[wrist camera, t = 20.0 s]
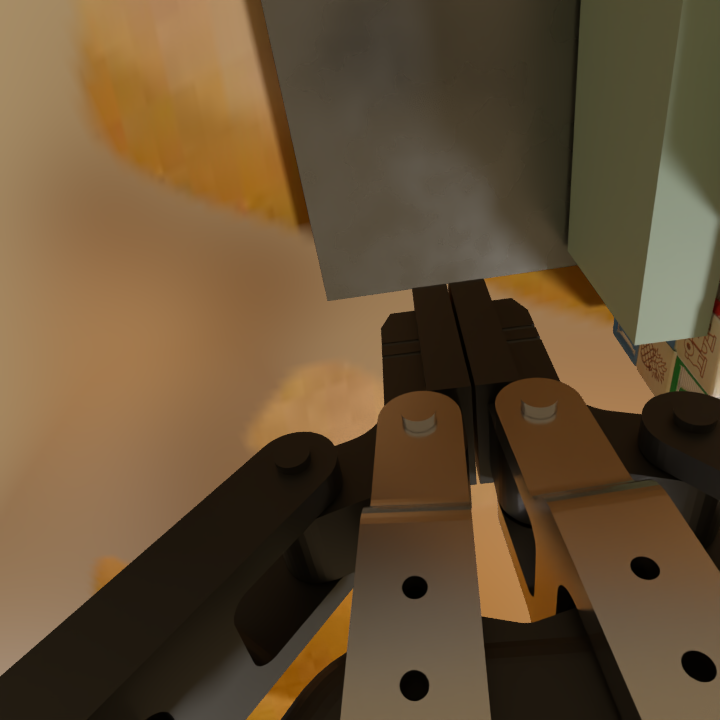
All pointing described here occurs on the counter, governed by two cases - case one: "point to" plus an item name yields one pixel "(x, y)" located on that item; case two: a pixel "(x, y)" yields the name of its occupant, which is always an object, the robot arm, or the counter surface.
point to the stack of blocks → (679, 360)
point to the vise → (430, 135)
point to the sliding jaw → (648, 163)
